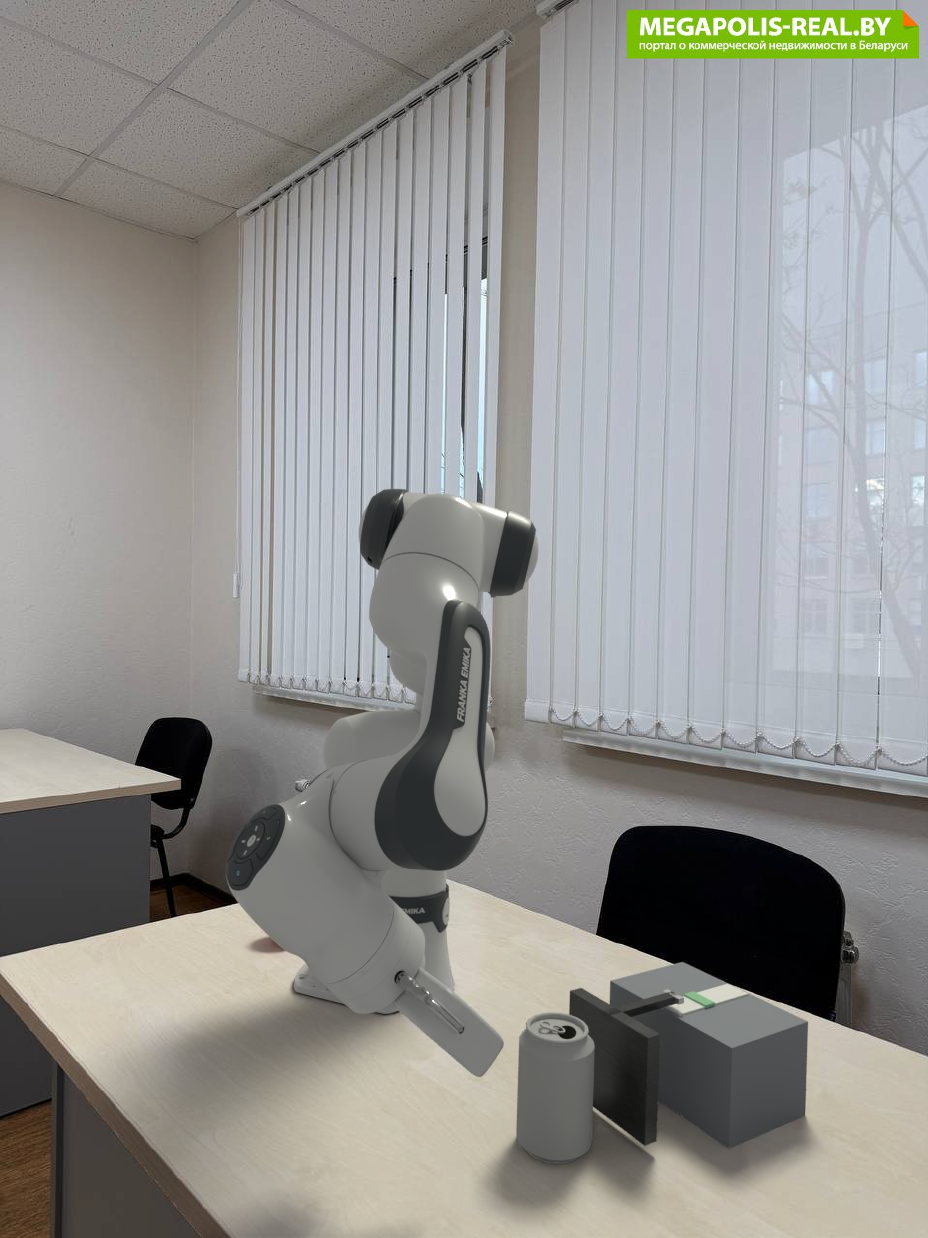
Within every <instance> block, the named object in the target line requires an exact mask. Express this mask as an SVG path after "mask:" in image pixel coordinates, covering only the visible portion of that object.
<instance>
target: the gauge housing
mask: <svg viewBox="0 0 928 1238" xmlns="http://www.w3.org/2000/svg"><path fill="white" fill-rule="evenodd" d="M667 989H668V990H670V991H672V992H674V993H676V994H678V995H680V996H682V997H684V1003H683V1004H679V1005H678V1004H674V1005H671V1006H667V1007H664V1008H660V1009H657V1010H654V1011H650V1012H647V1013H643V1014H640V1015H637V1016H633V1017H632V1018H633V1019H635V1020H637V1021H638V1022H640V1023H642V1024H644V1025H645V1026H647V1027H649V1028H650V1029H652V1030H654V1031H655V1032H657V1033H659V1034H660V1053H659V1085H658V1102H660V1103H661V1104H663V1105H664V1106H666V1107H668V1108H669V1109H670V1110H671V1111H673V1112H675V1113H676V1114H678V1115H679V1116H681V1117H682V1118H684V1120H686V1121H688V1122H690V1124H692V1125H694V1126H695V1127H697V1128H698V1129H699V1130H702V1131H703V1132H704V1133H705V1134H707V1135H709V1137H711V1138H713V1139H714V1140H716V1141H717V1142H719V1143H720V1144H721V1145H723V1146H725V1147H726V1148H728V1149H731V1148H733V1147H736V1146H738V1145H740V1144H743V1143H746V1142H747V1141H750V1140H753V1139H754V1138H756V1137H757V1138H758V1137H759V1136H760V1135H763V1134H765V1133H768V1132H770V1131H772V1130H775V1129H777V1128H779V1127H782V1126H784V1125H786V1124H788V1123H790V1122H792V1121H795V1120H797V1119H799V1118H802V1117H804V1116H806V1108H807V1107H806V1106H807V1105H806V1104H807V1103H806V1102H807V1074H808V1073H807V1072H808V1071H807V1070H808V1037H809V1035H808V1034H809V1033H808V1031H809V1021H808V1020H806V1019H803V1018H802V1017H800V1016H798V1015H795V1014H793V1013H791V1012H789V1011H787V1010H784V1009H783V1008H780V1007H778V1006H776V1005H774V1004H772V1003H770V1002H769V1001H766V1000H764V999H762V998H759V997H758V996H755V995H753V994H751V993H749V992H747V991H744V990H743V989H740V988H739V987H736V986H734V985H732V984H730V983H728V982H725V981H724V980H722V979H719V978H717V977H715V976H713V975H712V974H709V973H706V972H704V971H702V970H701V969H699V968H696V967H695V966H692V965H690V964H688V963H685V962H684V961H681V962H677V963H673V964H670V965H665V966H662V967H659V968H658V967H657V968H655V969H651V970H646V971H642V972H639V973H636V974H630V975H627V976H624V977H620V978H615V979H611V980H610V983H609V1004H610V1005H611V1006H613V1007H618V1006H621V1005H625V1004H628V1003H632V1002H635V1001H639V1000H642V999H646V998H650V997H653V996H657V995H660V994H663V990H667Z"/></svg>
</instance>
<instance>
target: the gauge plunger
mask: <svg viewBox="0 0 928 1238" xmlns="http://www.w3.org/2000/svg"><path fill="white" fill-rule="evenodd" d="M683 1003H684V997H682V996H680V995H678V994H676V993H674V992H672V991H670V990H668V989H667V990H663V994H660V995H657V996H653V997H650V998H646V999H642V1000H639V1001H635V1002H632V1003H628V1004H625V1005H621V1006H618V1007H613V1006H611V1005H610V1003H607V1002H606V1001H604V1000H603V999H601V998H599V997H597V996H595V995H594V994H593V993H591V992H589V991H587V990H586V989H584V988H583V987H578V988H576V989H572V990H570V991H569V1009H568V1010H569V1011H568V1012H569V1013H568V1014H569V1015H572V1016H574V1017H577V1018H579V1019H580V1020H582V1021H583V1022H584V1023H585V1024H586V1025H587V1026H588V1030H589V1033H588V1035H589V1036H590V1037H591V1038H592V1040H593V1041H594V1046H595V1053H594V1086H593V1109H596V1111H598V1112H599V1113H600V1114H602V1115H603V1116H604V1117H606V1118H608V1120H610V1121H611V1122H612V1123H614V1124H615V1125H617V1126H618V1127H619V1128H620V1129H622V1130H623V1131H624V1132H626V1134H628V1135H629V1136H630V1137H632V1138H633V1139H634V1140H636V1141H637V1142H639V1143H640V1144H641V1145H643V1146H644V1147H647V1146H648V1145H650V1144H654V1143H656V1142H657V1141H658V1113H659V1112H658V1111H659V1110H658V1108H659V1100H658V1085H659V1053H660V1034H659V1033H657V1032H655V1031H654V1030H652V1029H650V1028H649V1027H647V1026H645V1025H644V1024H642V1023H640V1022H638V1021H637V1020H635V1019H633V1018H632V1017H633V1016H637V1015H640V1014H643V1013H647V1012H650V1011H654V1010H657V1009H660V1008H664V1007H667V1006H671V1005H674V1004H678V1005H679V1004H683Z"/></svg>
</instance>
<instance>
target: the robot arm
mask: <svg viewBox="0 0 928 1238" xmlns="http://www.w3.org/2000/svg"><path fill="white" fill-rule="evenodd" d="M536 532H537V529H536V527H535V524H534V522H533V521H532V520H531V519H530V518H528V517H526V516H524V515H522V514H520V513H518V512H515V511H512V510H508V511H504V510H501V509H500V508H496V507H495V506H494V507H493V506H490V505H488V504H485V503H481V502H478V501H475V500H470V499H467V498H464V497H463V498H462V497H459V496H456V495H454V494H451V493H450V494H449V493H432V494H431V493H424V492H423V493H422V492H408V490H407V489H406V488H405V489H403V488H386V489H382V490H380V491H379V492H377V493H375V494H374V495H373V496H372V497H371V498H370V500H369V502H368V504H367V506H366V508H365V509H364V511H363V513H362V515H361V518H360V521H359V526H358V542H359V549H360V550H359V551H360V555H361V556H362V558H363V560H364V561H365V562H366V563H367V565H369V566H370V567H371V568H373V569H375V570H377V574H376V577H375V581H374V583H373V587H372V591H371V594H370V597H369V598H370V600H369V609H368V610H369V611H368V615H369V616H368V619H369V622H370V625H371V627H372V629H373V632H374V633H375V635H376V637H377V638H378V640H379V641H380V642H381V643H382V645H384V647H385V648H387V649H388V650H389V651H390V655H389V660H388V661H389V666H390V670H391V672H392V675H393V676H394V678H395V679H396V680H397V681H398V682H399V683H400V684H401V685H403V686H404V687H405V688H407V689H408V690H410V691H411V692H413V693H414V694H415V703H414V706H413V707H412V708H411V709H408V710H407V709H405V710H404V709H402V710H399V709H398V710H370V711H365V712H360V713H357V714H352V715H348V716H345V717H341V718H338V719H337V720H336V721H334V723H333V724H332V726H331V727H330V729H329V730H328V732H327V734H326V736H325V740H324V743H323V750H322V751H323V762H324V766H325V768H326V770H325V771H323V772H321V773H320V774H318V775H317V776H315V778H313V780H312V781H311V782H310V783H309V784H308V786H307V787H306V788H305V789H304V790H302V791H301V792H299V794H296V795H295V796H293V797H291V798H290V799H287V800H285V801H282V802H279V803H271V804H269V805H267V806H264V807H263V808H260V810H258V811H257V812H255V813H254V814H253V815H252V816H251V817H250V818H249V819H248V820H247V821H246V822H245V824H244V825H243V826H242V827H241V828H240V829H239V831H238V833H237V834H236V836H235V838H234V840H233V842H232V843H231V845H230V848H229V851H228V855H227V858H226V862H225V871H224V872H225V879H226V883H227V885H228V887H229V890H230V892H231V894H232V896H233V897H234V898H235V900H236V901H237V903H238V904H239V906H240V907H241V908H242V910H243V911H245V913H246V914H247V915H248V916H249V917H250V919H252V921H253V922H254V923H255V924H256V925H257V926H258V927H259V928H260V929H261V930H262V932H264V933H265V934H266V935H267V936H268V937H269V938H270V939H272V941H274V943H276V944H277V945H278V946H279V947H280V948H282V949H283V951H285V952H288V953H289V954H291V955H294V956H297V957H298V958H299V959H301V960H302V961H303V962H304V964H303V965H302V966H301V967H300V968H299V969H298V971H297V972H296V974H295V976H294V983H293V989H294V991H295V992H296V993H299V994H302V995H306V996H311V997H314V998H318V999H322V1000H325V1001H326V1000H327V1001H329V1002H331V1001H332V1002H335V1003H338V1004H343V1005H345V1006H346V1007H347V1008H349V1009H350V1010H351V1011H352V1012H353V1013H356V1014H360V1015H370V1014H372V1013H379V1014H384V1015H386V1014H387V1015H388V1014H389V1015H390V1014H392V1013H395V1012H399V1013H401V1014H402V1015H403V1016H404V1017H406V1019H408V1020H409V1022H411V1023H412V1024H413V1025H415V1026H416V1027H417V1028H418V1030H420V1031H421V1032H422V1033H424V1034H425V1035H426V1036H427V1037H429V1039H431V1040H432V1042H434V1043H435V1044H437V1045H438V1046H439V1047H440V1048H441V1049H442V1050H443V1051H445V1053H447V1054H448V1055H449V1056H450V1057H452V1059H453V1060H455V1061H456V1062H457V1063H459V1064H460V1066H462V1067H463V1068H464V1069H466V1071H467V1072H469V1073H470V1074H471V1075H473V1076H475V1077H477V1078H481V1077H483V1076H484V1075H486V1073H487V1072H488V1070H489V1069H490V1068H491V1066H492V1065H493V1064H494V1062H495V1061H496V1060H497V1057H498V1056H499V1055H500V1053H501V1051H502V1049H503V1048H504V1045H505V1044H504V1043H505V1042H504V1039H503V1037H502V1035H501V1034H500V1033H499V1032H498V1031H497V1030H496V1029H495V1028H494V1027H493V1026H492V1025H491V1024H490V1023H489V1022H488V1021H486V1020H485V1019H484V1018H483V1017H482V1016H481V1015H480V1014H479V1013H478V1012H477V1011H476V1010H475V1009H474V1008H472V1006H471V1005H469V1004H468V1003H467V1002H466V1001H465V1000H464V999H463V998H462V997H460V996H459V995H458V994H457V993H456V992H455V991H454V989H455V986H456V983H455V980H454V977H453V972H452V967H451V963H450V955H449V949H448V948H449V947H448V935H447V934H448V933H447V928H448V926H449V925H448V924H449V922H450V903H451V899H450V887H449V884H448V883H447V876H448V875H447V873H448V872H447V871H448V870H451V869H454V868H456V867H458V866H459V865H461V864H462V863H464V862H465V861H466V860H467V859H468V858H469V857H470V856H471V855H472V853H473V852H474V850H475V848H476V847H477V846H478V844H479V842H480V840H481V837H482V836H483V833H484V831H485V828H486V825H487V820H488V813H489V797H488V796H489V795H488V789H487V788H488V787H487V780H486V779H487V777H486V772H488V770H489V768H490V767H491V765H492V762H493V759H494V755H495V751H496V750H495V749H496V742H495V737H494V733H493V730H492V728H491V726H490V724H489V722H487V720H488V719H487V718H488V707H489V691H490V677H491V653H492V652H491V637H490V636H491V635H490V631H489V628H488V624H487V622H486V620H485V617H484V616H483V615H482V613H481V611H482V604H483V603H482V602H483V593H488V594H489V595H490V598H496V597H508V596H514V594H517V593H519V592H520V591H522V590H523V589H524V586H525V585H526V583H527V582H528V581H529V580H530V578H531V577H532V575H533V573H534V571H535V569H536V567H537V563H538V559H539V558H538V557H539V542H538V537H537V534H536Z"/></svg>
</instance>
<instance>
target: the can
mask: <svg viewBox="0 0 928 1238" xmlns="http://www.w3.org/2000/svg"><path fill="white" fill-rule="evenodd" d="M588 1033H589V1030H588V1026H587V1025H586V1024H585V1023H584V1022H583V1021H582V1020H580V1019H579V1018H577V1017H574V1016H572V1015H569V1013H563V1012H555V1011H554V1012H553V1011H551V1012H550V1011H549V1012H541V1013H537V1014H535V1015H532V1016H531V1017H530V1018H528V1019H527V1021H526V1022H525V1029H524V1030H523V1031H522V1032H521V1033H520V1035H519V1037H518V1061H517V1063H518V1067H517V1068H518V1069H517V1092H516V1093H517V1094H516V1095H517V1096H516V1098H517V1099H516V1100H517V1101H516V1125H515V1127H516V1129H515V1130H516V1131H515V1132H516V1133H515V1135H516V1137H515V1138H516V1140H517V1141H518V1143H519V1144H520V1146H521V1147H523V1149H524V1150H525V1151H526V1152H527V1153H528V1154H529V1155H530V1156H531V1157H533V1158H534V1159H535V1160H538V1161H540V1162H542V1163H547V1164H552V1165H563V1164H570V1163H572V1162H575V1161H577V1160H578V1159H579V1158H580V1157H581V1156H584V1154H586V1152H587V1153H588V1151H590V1149H591V1145H592V1141H593V1120H594V1118H593V1115H594V1113H593V1111H594V1107H593V1086H594V1053H595V1046H594V1041H593V1040H592V1038H591V1037H590V1036H589V1035H588Z"/></svg>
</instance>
